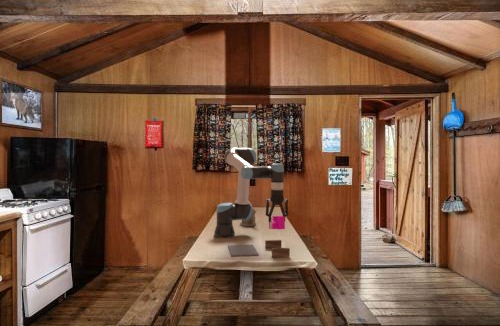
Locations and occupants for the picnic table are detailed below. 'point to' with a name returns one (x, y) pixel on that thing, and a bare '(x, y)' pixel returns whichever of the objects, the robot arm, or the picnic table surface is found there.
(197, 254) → the picnic table surface
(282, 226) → the toy block
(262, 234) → the picnic table surface
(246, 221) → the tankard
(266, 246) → the block
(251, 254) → the slate mat
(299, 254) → the picnic table surface
